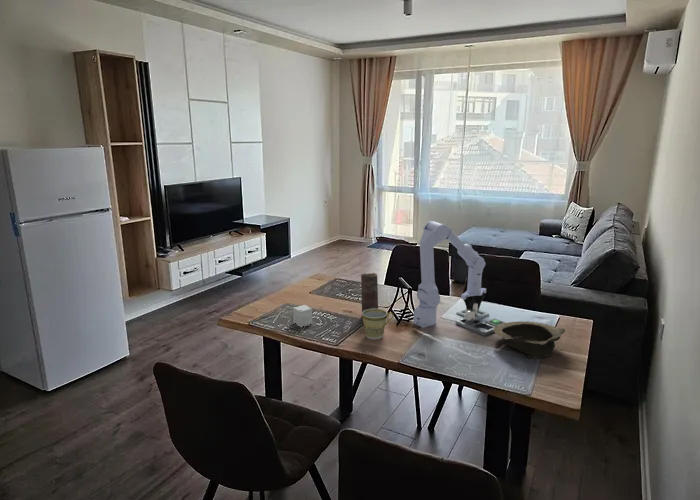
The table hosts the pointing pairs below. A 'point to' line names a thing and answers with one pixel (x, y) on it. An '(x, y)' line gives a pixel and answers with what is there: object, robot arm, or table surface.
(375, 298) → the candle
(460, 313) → the grey square frame
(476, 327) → the pallet
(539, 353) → the stone bowl
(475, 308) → the billet
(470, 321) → the billet
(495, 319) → the button housing
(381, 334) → the ceramic cup
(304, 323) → the skincare box
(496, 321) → the button
